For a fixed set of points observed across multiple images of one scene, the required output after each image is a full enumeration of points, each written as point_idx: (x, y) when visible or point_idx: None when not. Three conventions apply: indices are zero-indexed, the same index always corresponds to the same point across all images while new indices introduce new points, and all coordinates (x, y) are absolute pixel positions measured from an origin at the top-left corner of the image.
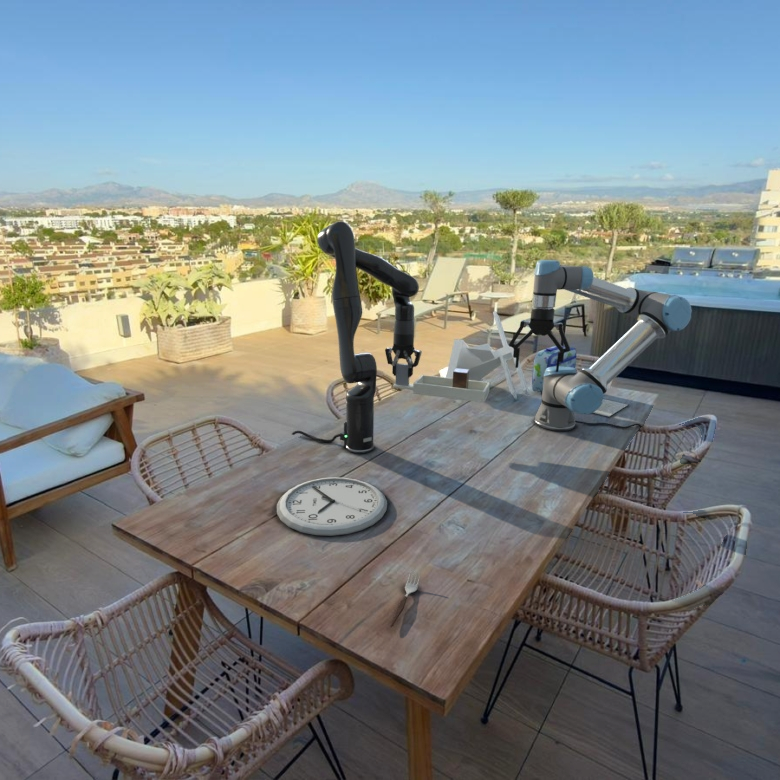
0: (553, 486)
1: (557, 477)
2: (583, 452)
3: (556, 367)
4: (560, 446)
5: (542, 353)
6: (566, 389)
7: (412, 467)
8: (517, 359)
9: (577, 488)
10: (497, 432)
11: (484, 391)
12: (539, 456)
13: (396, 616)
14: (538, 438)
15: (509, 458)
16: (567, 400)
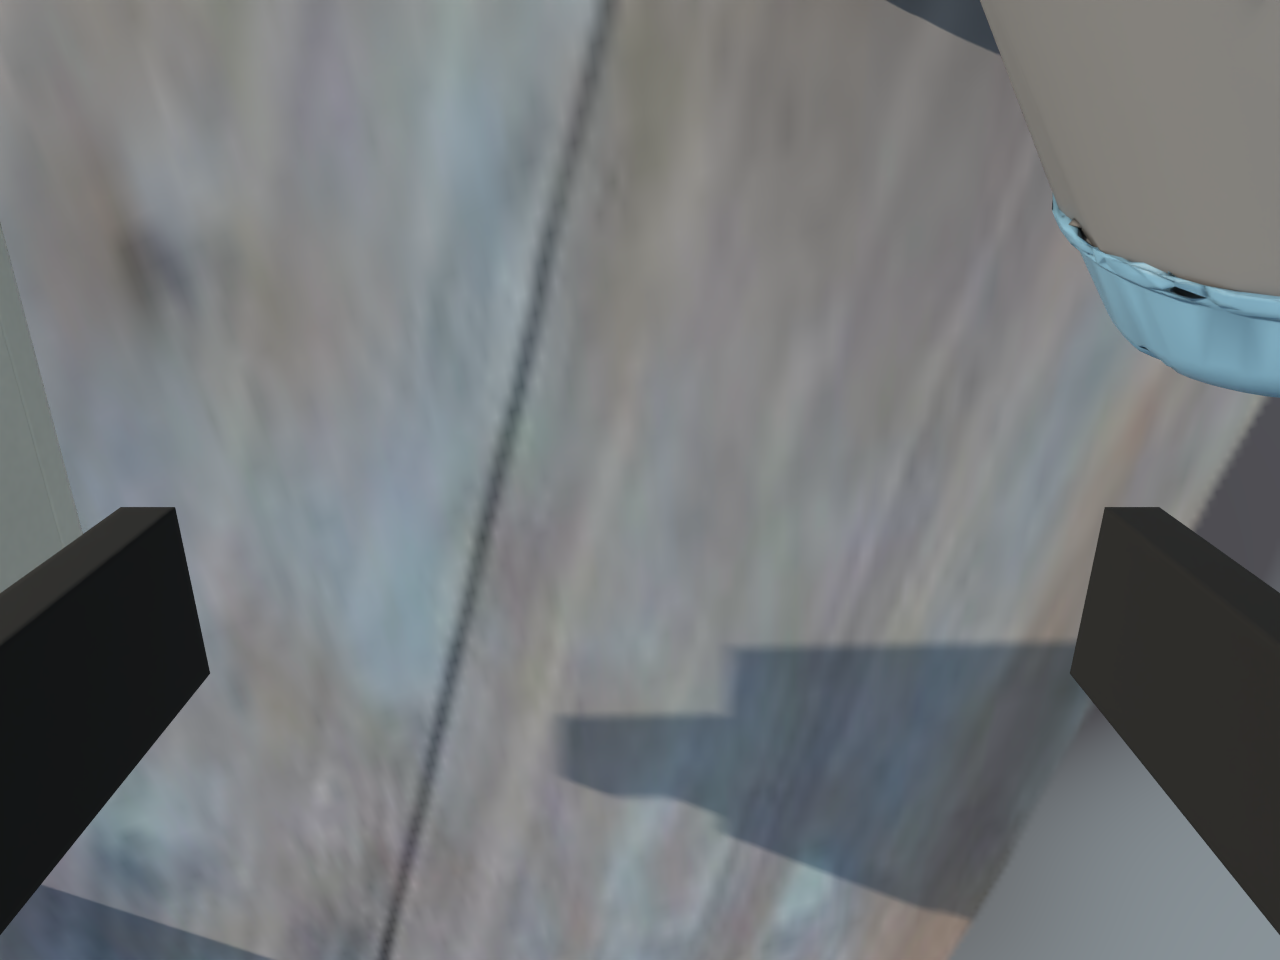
0: (809, 894)
1: (835, 801)
2: (1053, 391)
3: (1121, 735)
4: (888, 335)
5: None
6: (1157, 186)
7: (67, 928)
8: (72, 821)
9: (931, 877)
10: (353, 209)
11: None
12: (730, 569)
13: None
14: (712, 221)
15: (542, 662)
16: (1095, 271)
